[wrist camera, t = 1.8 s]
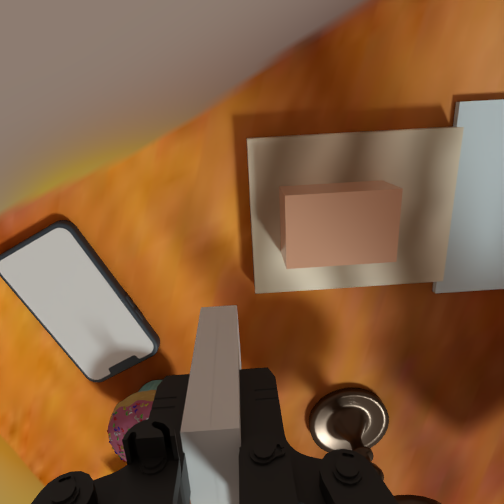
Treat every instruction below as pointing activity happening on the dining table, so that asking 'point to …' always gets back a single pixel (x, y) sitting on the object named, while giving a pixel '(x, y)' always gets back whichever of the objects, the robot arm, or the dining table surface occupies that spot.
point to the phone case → (78, 301)
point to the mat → (477, 202)
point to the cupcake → (130, 415)
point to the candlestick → (354, 427)
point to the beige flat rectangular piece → (357, 170)
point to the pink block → (339, 223)
